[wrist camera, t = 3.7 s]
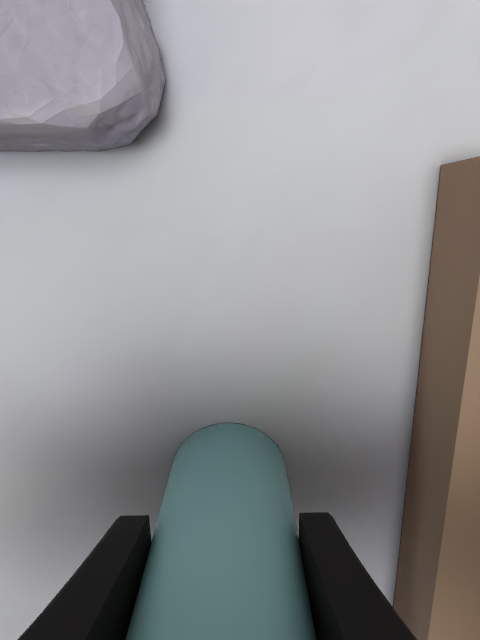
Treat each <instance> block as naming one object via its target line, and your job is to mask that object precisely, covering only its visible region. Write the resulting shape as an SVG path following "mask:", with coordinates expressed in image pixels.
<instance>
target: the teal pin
mask: <svg viewBox="0 0 480 640" xmlns="http://www.w3.org/2000/svg"><path fill="white" fill-rule="evenodd" d="M125 640H316V635H315V629H314V623H313V618H312V612H311V606H310V601H309V595H308V590H307V584H306V579H305V573H304V568H303V562H302V556H301V550H300V545H299V538H298V532H297V527H296V521H295V515H294V510H293V504H292V498H291V493H290V487H289V481H288V476H287V470H286V465H285V460H284V458H283V455H282V453H281V451H280V449H279V448H278V446H277V445H276V444H275V443H274V442H273V441H272V440H271V439H270V438H269V437H268V436H267V435H265V434H264V433H262V432H261V431H259V430H257V429H255V428H252V427H250V426H246V425H243V424H236V423H221V424H215V425H211V426H208V427H205V428H203V429H200V430H198V431H197V432H195V433H193V434H192V435H191V436H190V437H188V438H187V439H186V440H185V441H184V442H183V443H182V445H181V446H180V447H179V449H178V451H177V453H176V455H175V457H174V461H173V464H172V468H171V471H170V475H169V479H168V483H167V486H166V490H165V494H164V498H163V501H162V505H161V509H160V512H159V516H158V520H157V524H156V527H155V531H154V535H153V539H152V542H151V546H150V550H149V554H148V557H147V561H146V565H145V568H144V572H143V576H142V580H141V583H140V587H139V591H138V595H137V598H136V602H135V606H134V610H133V613H132V617H131V621H130V624H129V628H128V632H127V636H126V639H125Z"/></svg>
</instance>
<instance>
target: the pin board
mask: <svg viewBox="0 0 480 640" xmlns="http://www.w3.org/2000/svg"><path fill="white" fill-rule="evenodd" d="M393 608H394V610H395V611H396V613H397V614H398V615H399V617H400V618H401V619H402V621H403V622H404V623H405V625H406V626H407V627H408V628H409V630H410V631H411V632H412V634H413V635H414V636H415V638H416V639H417V640H480V157H475V158H471V159H466V160H462V161H458V162H453V163H449V164H444V165H441V172H440V181H439V191H438V200H437V209H436V218H435V228H434V237H433V246H432V255H431V265H430V274H429V283H428V292H427V302H426V311H425V320H424V329H423V339H422V348H421V357H420V366H419V376H418V385H417V394H416V403H415V412H414V422H413V431H412V440H411V449H410V459H409V468H408V477H407V486H406V496H405V505H404V514H403V523H402V533H401V542H400V551H399V560H398V570H397V579H396V588H395V597H394V606H393Z"/></svg>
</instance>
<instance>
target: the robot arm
mask: <svg viewBox="0 0 480 640" xmlns="http://www.w3.org/2000/svg"><path fill="white" fill-rule="evenodd" d="M299 545H300V550H301V556H302V562H303V568H304V573H305V579H306V584H307V590H308V595H309V601H310V606H311V612H312V618H313V623H314V629H315V635H316V640H417V639H416V638H415V636H414V635H413V634H412V632H411V631H410V630H409V628H408V627H407V626H406V625H405V623H404V622H403V621H402V619H401V618H400V617H399V615H398V614H397V613H396V611H395V610H394V608H393V607H392V606H391V604H390V603H389V602H388V600H387V599H386V597H385V596H384V595H383V593H382V592H381V591H380V589H379V588H378V586H377V585H376V584H375V582H374V581H373V579H372V578H371V576H370V575H369V574H368V572H367V571H366V569H365V568H364V566H363V565H362V563H361V562H360V560H359V559H358V557H357V556H356V554H355V553H354V551H353V550H352V548H351V546H350V545H349V543H348V542H347V540H346V539H345V537H344V535H343V534H342V532H341V530H340V529H339V527H338V525H337V524H336V522H335V520H334V518H333V517H332V516H331V515H330V514H329V513H328V512H327V513H299ZM150 546H151V533H150V523H149V515H142V516H120V517H119V518H118V519H117V520H116V521H115V522H114V523H113V525H112V526H111V527H110V529H109V530H108V531H107V533H106V534H105V535H104V536H103V538H102V539H101V540H100V542H99V543H98V544H97V546H96V547H95V548H94V549H93V551H92V552H91V553H90V554H89V556H88V557H87V558H86V560H85V561H84V562H83V563H82V565H81V566H80V567H79V568H78V570H77V571H76V572H75V573H74V575H73V576H72V577H71V578H70V579H69V581H68V582H67V583H66V584H65V585H64V587H63V588H62V589H61V590H60V591H59V593H58V594H57V595H56V596H55V597H54V599H53V600H52V601H51V602H50V603H49V605H48V606H47V607H46V608H45V609H44V611H43V612H42V613H41V614H40V615H39V616H38V617H37V619H36V620H35V621H34V622H33V623H32V624H31V625H30V626H29V628H28V629H27V630H26V631H25V632H24V633H23V634H22V635H21V636H20V638H19V639H18V640H125V639H126V636H127V632H128V628H129V624H130V621H131V617H132V613H133V610H134V606H135V602H136V598H137V595H138V591H139V587H140V583H141V580H142V576H143V572H144V568H145V565H146V561H147V557H148V554H149V550H150Z"/></svg>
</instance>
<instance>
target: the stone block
mask: <svg viewBox="0 0 480 640" xmlns="http://www.w3.org/2000/svg"><path fill="white" fill-rule="evenodd" d="M165 81H166V80H165V75H164V70H163V66H162V61H161V56H160V51H159V47H158V45H157V42H156V40H155V37H154V35H153V32H152V30H151V24H150V19H149V17H148V15H147V12H146V9H145V6H144V4H143V1H142V0H0V151H48V150H59V151H79V150H86V151H103V150H107V149H112V148H116V147H121V146H125V145H130V144H131V143H132V141H133V140H134V139H135V138H136V137H137V135H138V134H139V133H140V132H141V131H142V130H143V129H144V127H145V126H146V125H147V124H148V123H149V122H151V121H152V120H153V119H154V118H155V117H156V116H157V115H158V111H159V107H160V102H161V98H162V94H163V90H164V85H165Z"/></svg>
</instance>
